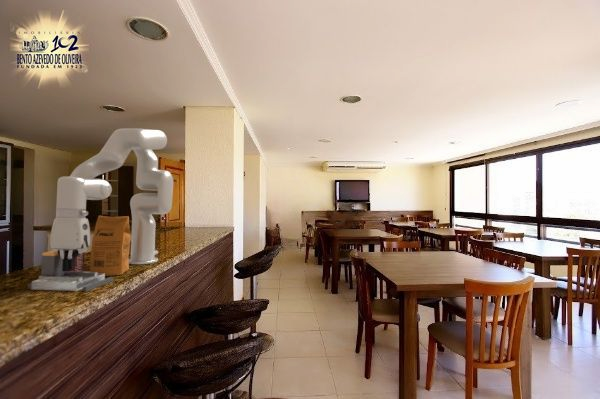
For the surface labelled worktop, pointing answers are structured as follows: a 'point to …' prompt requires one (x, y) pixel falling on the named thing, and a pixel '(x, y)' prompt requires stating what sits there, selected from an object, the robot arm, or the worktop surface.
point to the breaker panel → (67, 281)
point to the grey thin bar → (97, 284)
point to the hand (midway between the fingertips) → (68, 270)
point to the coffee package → (110, 246)
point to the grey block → (51, 264)
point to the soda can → (79, 262)
